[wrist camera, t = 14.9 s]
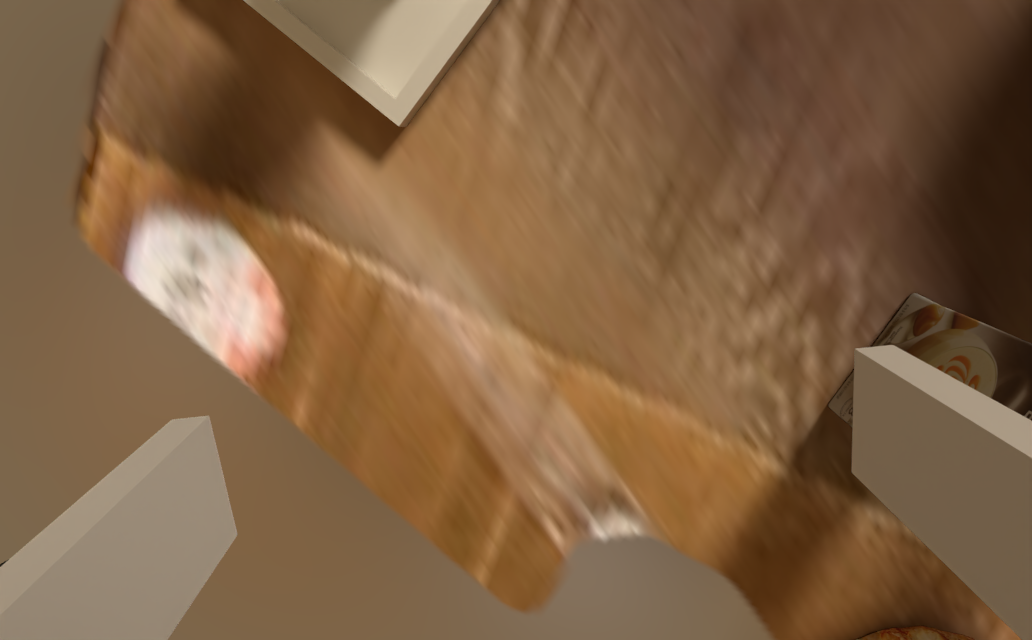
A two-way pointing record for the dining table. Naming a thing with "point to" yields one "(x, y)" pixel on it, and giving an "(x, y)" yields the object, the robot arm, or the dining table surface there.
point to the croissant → (914, 634)
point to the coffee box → (956, 354)
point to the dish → (382, 43)
